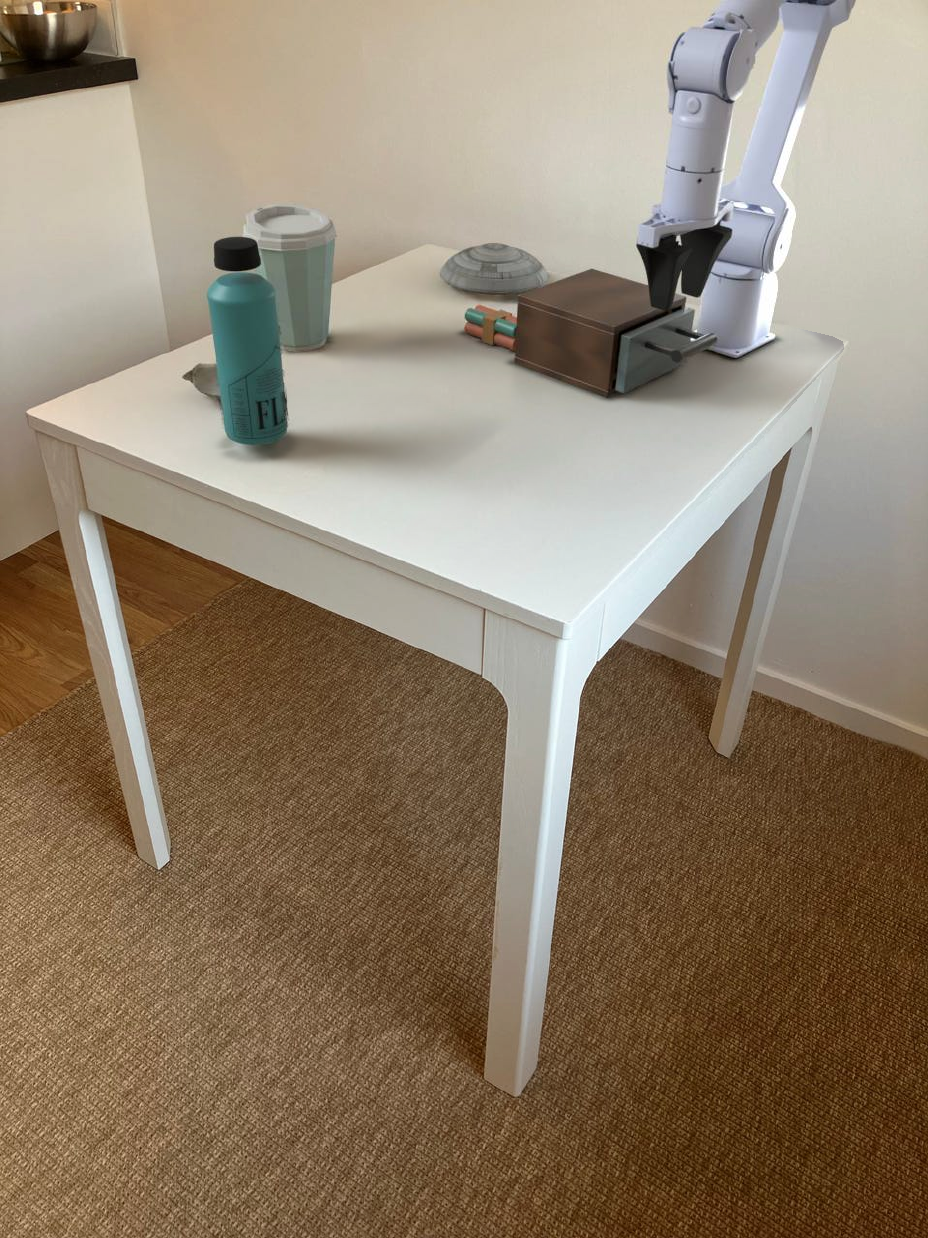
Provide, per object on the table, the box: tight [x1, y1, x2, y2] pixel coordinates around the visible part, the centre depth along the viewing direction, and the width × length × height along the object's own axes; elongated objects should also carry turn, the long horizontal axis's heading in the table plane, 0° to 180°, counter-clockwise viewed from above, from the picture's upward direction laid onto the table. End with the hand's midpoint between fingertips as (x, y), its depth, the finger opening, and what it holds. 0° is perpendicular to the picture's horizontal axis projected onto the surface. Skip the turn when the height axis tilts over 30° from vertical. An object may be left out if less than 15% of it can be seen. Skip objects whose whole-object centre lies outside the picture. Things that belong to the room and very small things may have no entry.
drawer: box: [613, 306, 717, 394], centre depth 118 cm, size 17×12×6 cm
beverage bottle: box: [206, 236, 290, 446], centre depth 98 cm, size 6×7×20 cm
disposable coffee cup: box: [242, 203, 338, 353], centre depth 122 cm, size 11×11×15 cm
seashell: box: [181, 362, 221, 400], centre depth 113 cm, size 8×3×8 cm
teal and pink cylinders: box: [463, 304, 517, 352], centre depth 127 cm, size 8×3×3 cm, turn 47°
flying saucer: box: [439, 242, 549, 296], centre depth 143 cm, size 15×15×6 cm
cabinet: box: [514, 268, 687, 399], centre depth 120 cm, size 14×14×8 cm
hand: (675, 301), depth 112 cm, fingers open, 5 cm apart
